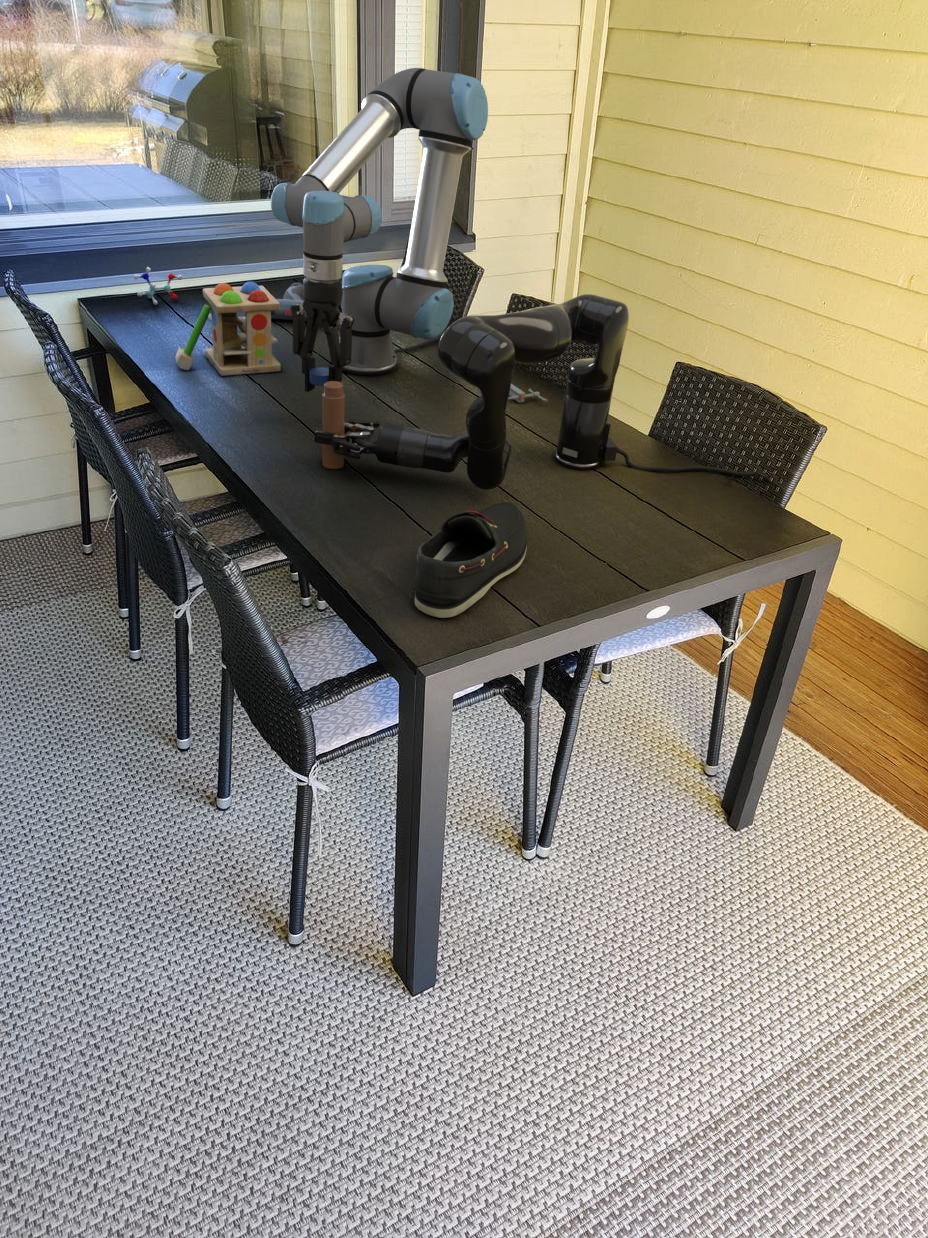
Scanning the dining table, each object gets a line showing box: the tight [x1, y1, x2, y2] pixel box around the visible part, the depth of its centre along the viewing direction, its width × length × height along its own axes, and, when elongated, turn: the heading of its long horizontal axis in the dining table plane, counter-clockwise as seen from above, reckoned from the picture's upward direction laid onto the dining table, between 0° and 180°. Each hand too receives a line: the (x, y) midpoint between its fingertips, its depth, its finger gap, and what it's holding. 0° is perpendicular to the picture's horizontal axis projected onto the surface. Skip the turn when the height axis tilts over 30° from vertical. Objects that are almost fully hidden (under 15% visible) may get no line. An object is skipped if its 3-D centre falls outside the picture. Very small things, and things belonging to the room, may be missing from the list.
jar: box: [321, 381, 346, 470], centre depth 187 cm, size 4×4×16 cm
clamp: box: [508, 383, 549, 404], centre depth 228 cm, size 15×2×10 cm
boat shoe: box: [412, 501, 528, 619], centre depth 161 cm, size 13×33×10 cm, turn 147°
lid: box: [309, 366, 329, 387], centre depth 201 cm, size 5×5×2 cm
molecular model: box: [133, 266, 183, 306], centre depth 263 cm, size 12×10×10 cm
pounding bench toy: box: [174, 281, 282, 377], centre depth 225 cm, size 23×14×18 cm, turn 116°
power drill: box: [271, 282, 308, 322], centre depth 265 cm, size 5×19×20 cm
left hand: (321, 392), depth 203 cm, fingers closed on lid, 5 cm apart
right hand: (319, 431), depth 189 cm, fingers closed on jar, 4 cm apart
